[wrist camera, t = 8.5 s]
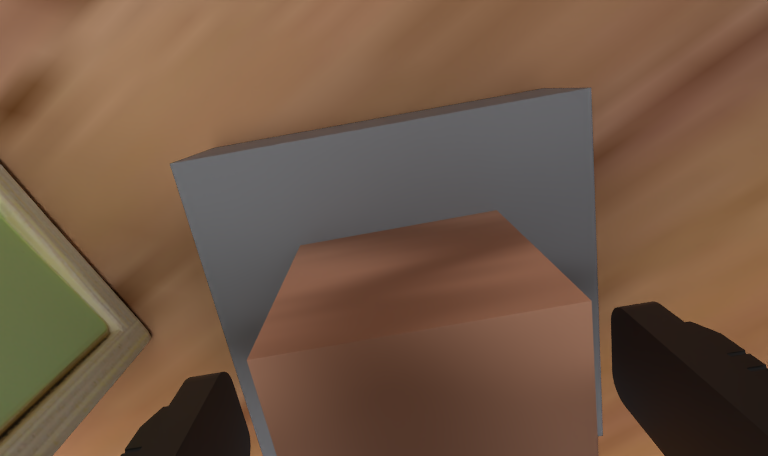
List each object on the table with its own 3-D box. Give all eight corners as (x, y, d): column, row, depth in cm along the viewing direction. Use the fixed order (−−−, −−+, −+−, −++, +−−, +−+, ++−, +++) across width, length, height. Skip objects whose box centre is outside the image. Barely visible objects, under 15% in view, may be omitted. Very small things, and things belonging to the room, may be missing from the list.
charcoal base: (543, 88, 13) (591, 88, 10) (561, 374, 16) (602, 435, 13) (213, 147, 13) (169, 163, 11) (290, 418, 16) (273, 488, 13)
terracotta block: (496, 210, 11) (591, 300, 6) (514, 379, 13) (602, 555, 8) (300, 245, 11) (247, 360, 6) (341, 408, 13) (322, 600, 8)
